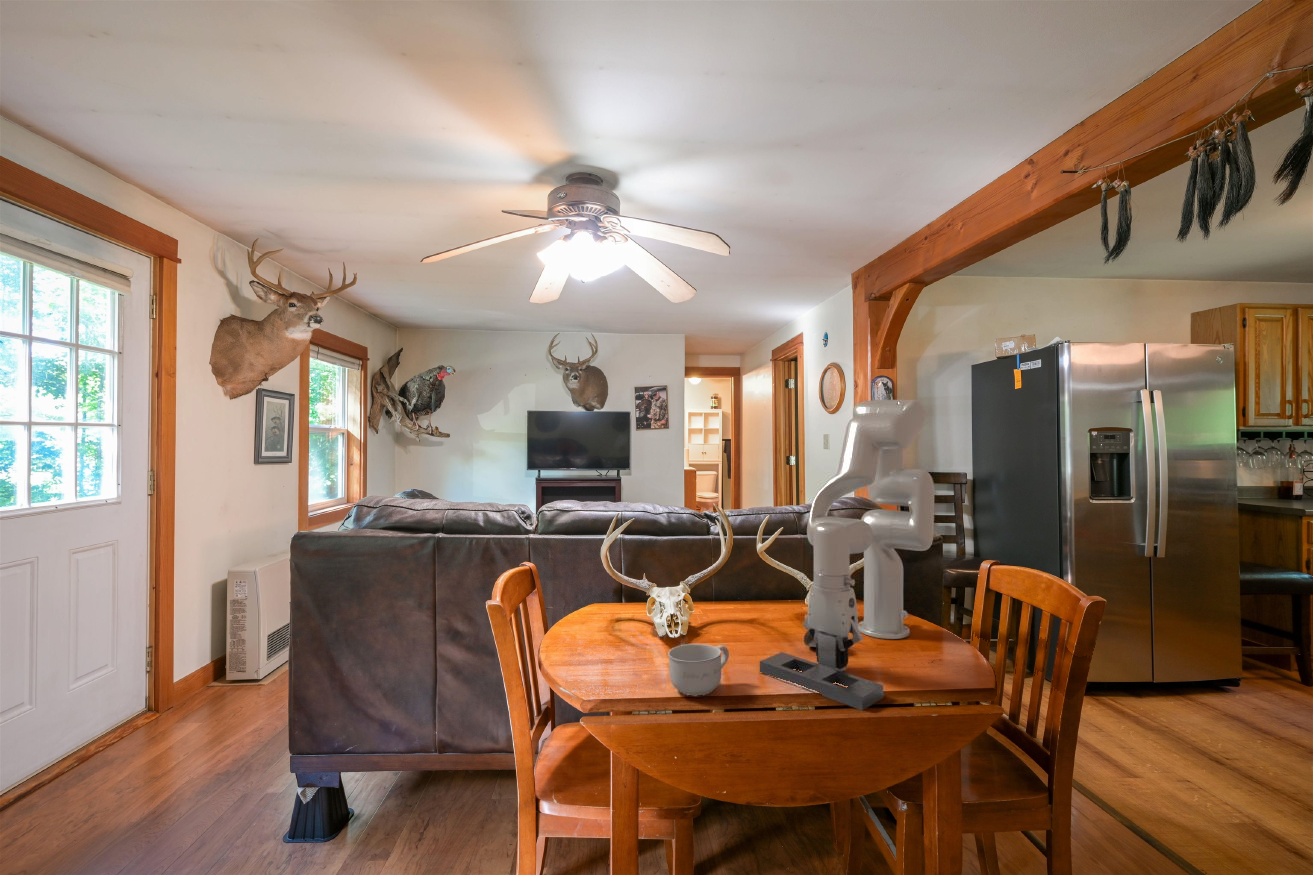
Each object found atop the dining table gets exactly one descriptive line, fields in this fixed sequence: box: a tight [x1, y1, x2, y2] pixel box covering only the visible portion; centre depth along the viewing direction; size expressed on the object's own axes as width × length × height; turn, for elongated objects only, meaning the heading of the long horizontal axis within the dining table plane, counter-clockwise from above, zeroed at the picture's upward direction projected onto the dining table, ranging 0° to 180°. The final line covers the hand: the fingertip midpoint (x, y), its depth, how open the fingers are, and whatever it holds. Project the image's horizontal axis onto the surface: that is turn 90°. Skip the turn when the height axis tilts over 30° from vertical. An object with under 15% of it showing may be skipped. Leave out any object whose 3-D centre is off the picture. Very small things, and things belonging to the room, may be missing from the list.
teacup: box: [667, 643, 730, 696], centre depth 123 cm, size 14×11×8 cm
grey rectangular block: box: [817, 632, 847, 672], centre depth 132 cm, size 4×4×9 cm
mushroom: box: [803, 630, 816, 648], centre depth 145 cm, size 8×8×6 cm
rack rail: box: [759, 651, 884, 711], centre depth 125 cm, size 24×8×2 cm, turn 42°
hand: (831, 662), depth 132 cm, fingers closed on grey rectangular block, 4 cm apart
